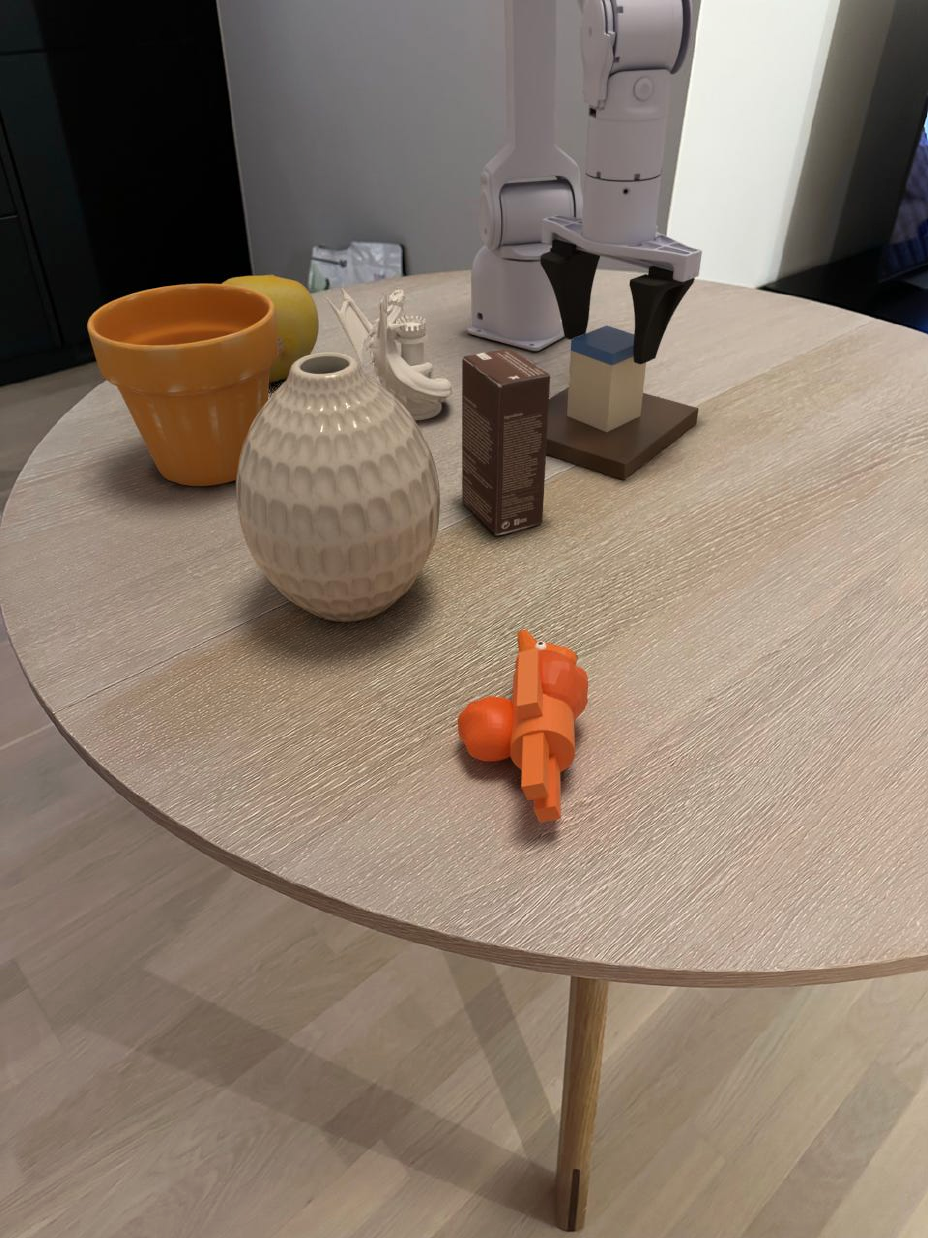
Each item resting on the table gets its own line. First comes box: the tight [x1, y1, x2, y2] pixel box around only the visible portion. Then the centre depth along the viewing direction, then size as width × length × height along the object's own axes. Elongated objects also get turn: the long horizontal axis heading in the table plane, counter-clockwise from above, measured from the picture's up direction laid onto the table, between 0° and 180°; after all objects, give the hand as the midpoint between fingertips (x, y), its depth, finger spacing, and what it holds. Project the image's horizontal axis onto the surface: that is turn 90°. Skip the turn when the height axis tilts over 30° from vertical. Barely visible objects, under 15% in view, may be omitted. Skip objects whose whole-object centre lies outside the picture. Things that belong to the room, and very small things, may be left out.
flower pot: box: [86, 283, 279, 487], centre depth 76 cm, size 14×14×13 cm
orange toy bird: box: [457, 629, 589, 824], centre depth 51 cm, size 5×8×12 cm
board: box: [546, 386, 699, 481], centre depth 83 cm, size 12×13×2 cm
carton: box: [567, 325, 647, 432], centre depth 80 cm, size 5×5×7 cm
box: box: [461, 348, 551, 536], centre depth 69 cm, size 6×4×12 cm
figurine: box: [325, 286, 453, 421], centre depth 84 cm, size 11×8×12 cm
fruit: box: [221, 274, 320, 383], centre depth 92 cm, size 10×11×10 cm
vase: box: [235, 351, 441, 623], centre depth 59 cm, size 13×13×17 cm
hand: (608, 347), depth 78 cm, fingers open, 7 cm apart
